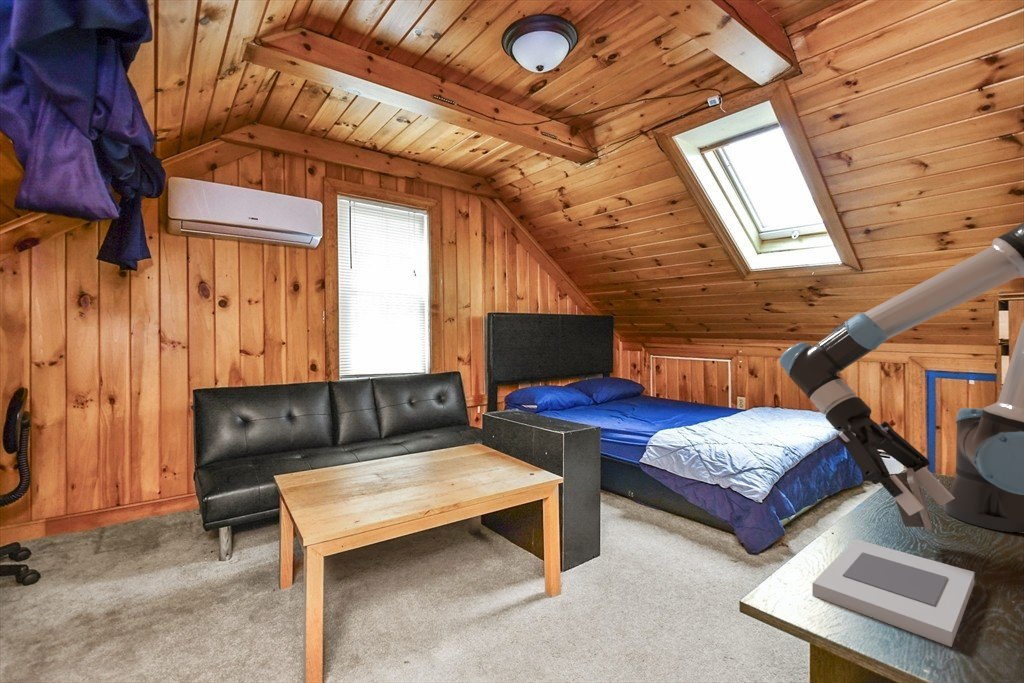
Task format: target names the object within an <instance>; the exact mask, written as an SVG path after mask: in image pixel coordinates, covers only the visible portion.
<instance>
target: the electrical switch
mask: <svg viewBox="0 0 1024 683" xmlns="http://www.w3.org/2000/svg"><path fill="white" fill-rule="evenodd" d="M892 475H895V476H896V477H897V478H898V479H899V480H900V481H901V482H902V483H903V485H904V486H905V487H906V488H907V489H908V490H909V491H910V492H911V493H912V495H913V496H914V497H915V498H916V499H917V500H918V501H919V502H920V503H921V505H922V506H923V507H924V509H922V510H920V511H918V512H916V513H915V514H913V515H910V516H909V515H908V514H907V512H906V511H905V510H904V509H903V508H902V507H901V506H900V504H899V503H898V502H897V501H896V500H895V502H896V505H897V508H898V511H899V513H900V516H901V519H902V522H903V525H904V527H905V528H909V527H911V528H913V527H914V528H920V527H921V528H924V529H925V531H926V532H933V525H932V518H931V513H930V510H929V507H928V506H929V505H928V504H927V500H926V495H925V489H924V488H923V487H922V486H921V485H920V484H919V482H918V479H917V477H916V474H915V472H914V470H913V468H907V467H906V472H898V473H890V476H892ZM890 476H889V477H890Z"/></svg>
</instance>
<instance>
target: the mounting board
mask: <svg viewBox="0 0 1024 683" xmlns="http://www.w3.org/2000/svg"><path fill="white" fill-rule="evenodd" d="M974 586H975V571H972V570H969V569H965V568H961V567H957V566H953V565H951V564H946V563H942V562H939V561H937V560H933V559H928V558H924V557H921V556H918V555H914V554H910V553H907V552H904V551H900V550H896V549H893V548H890V547H885V546H882V545H879V544H876V543H875V544H874V543H871V542H868V541H864V540H860V539H857V538H854V539H853V540H852V541H851V542H850V543H849V544H848V545H847V547H845V548H844V549H843V550H842V551H841V552H840V553H839V555H837V557H836V558H834V559H833V561H832V562H831V563H830V564H829V565H828V566H827V567H826V568H825V569H824V570H823V571H822V572H821V573H820V574H819V575H818V577H816V579H815V580H814V581H812V588H811V590H812V593H811V594H812V596H813V595H814V596H813V597H815V596H816V598H818V597H819V598H818V599H820V600H823V601H826V602H829V603H832V604H835V605H837V606H840V607H843V608H845V609H848V610H850V611H854V612H856V613H859V614H861V615H864V616H867V617H870V618H872V617H873V618H872V619H875V620H877V621H881V622H883V623H884V624H885V623H886V624H889V625H891V626H894V627H896V628H899V629H902V630H904V631H907V632H910V633H913V634H915V635H917V636H921V637H924V638H925V639H929V640H930V641H933V642H937V643H939V644H942V645H944V646H947V647H949V648H952V646H953V645H954V644H953V643H954V641H955V638H956V636H957V633H958V630H959V627H960V624H961V622H962V619H963V617H964V613H965V611H966V608H967V605H968V603H969V600H970V597H971V594H972V592H973V589H974Z"/></svg>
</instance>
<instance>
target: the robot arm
mask: <svg viewBox="0 0 1024 683" xmlns="http://www.w3.org/2000/svg"><path fill="white" fill-rule="evenodd" d="M1016 278H1024V221H1023V222H1021V223H1020V224H1018V225H1017V226H1015V227H1014V228H1012V229H1010V230H1009V231H1007V232H1006V233H1004V234H1002V235H999V236H998V237H996V238H994V239H993V240H992V244H991V245H990V247H988V248H985V249H984V250H981V251H980V252H978V253H976V254H974V255H972V256H971V257H969V258H967V259H964V260H963V261H960V262H959V263H957V264H955V265H953V266H951V267H950V268H947V269H945V270H944V271H941V272H940V273H938V274H936V275H934V276H933V277H930V278H927V279H925V280H924V281H922V282H921V283H919V284H917V285H915V286H912V287H911V288H909V289H907V290H905V291H903V292H901V293H900V294H898V295H895V296H893V297H891V298H890V299H888V300H886V301H884V302H883V303H879V304H878V305H876V306H874V307H872V308H869V310H867V311H864V312H859V313H857V314H855V315H854V316H852V317H851V318H848V319H847V320H846V321H844V322H842V323H840V324H839V325H836V326H835V327H834V328H833V329H832V331H831V332H830V333H828V334H827V335H826V336H825V337H823V338H821V340H820V341H818V342H817V343H815V344H813V345H811V344H809V343H808V342H799V343H795V344H794V345H793V346H790V347H788V348H787V349H786V350H785V351H784V352H783V353H782V354H781V355H780V357H779V364H780V367H782V368H783V370H784V371H785V373H786V374H787V376H788V378H789V379H791V380H792V381H793V383H794V384H795V385H796V386H797V387H798V388H799V389H800V391H802V393H804V394H805V396H806V397H807V399H809V400H810V401H811V403H812V404H813V405H814V406H815V408H816V409H817V410H818V411H819V412H820V413H821V414H822V415H823V416H824V415H825V419H826V421H828V423H830V425H831V426H832V427H833V429H834V430H835V431H838V432H839V433H838V434H837V435H836V439H837V440H838V441H839V442H840V443H841V444H842V445H843V446H844V448H845V449H846V450H847V452H848V453H849V455H850V457H851V458H852V460H853V461H854V463H855V464H856V465H857V467H858V469H859V470H860V472H861V473H862V474H863V476H864V478H865V479H866V480H867V481H869V482H870V483H872V484H873V485H877V484H881V485H882V486H883V488H884V489H885V490H886V491H887V492H888V494H889V495H890V496H891V497H892V498H893V499H894V500H895V502H896V501H897V502H898V503H899V504H900V506H901V507H902V508H903V509H904V510H905V511H906V512H907V514H908V515H909V516H910V515H913V514H915V513H916V512H918V511H920V510H922V509H924V507H923V506H922V505H921V503H920V502H919V501H918V500H917V499H916V498H915V497H914V496H913V495H912V493H911V492H910V491H909V490H908V489H907V488H906V487H905V486H904V485H903V483H902V482H901V481H900V480H899V479H898V478H897V477H896V476H895V475H892V476H890V474H891V473H890V471H889V470H888V468H887V465H886V463H885V461H884V460H883V458H882V455H881V454H880V451H881V450H882V451H883V452H884V453H886V454H887V455H889V456H890V457H891V458H893V459H894V460H896V461H897V462H898V463H900V464H901V465H902V466H904V467H905V468H906V469H907V468H913V470H914V472H915V474H916V477H917V479H918V482H919V484H920V487H921V488H923V489H924V491H926V493H928V494H929V495H930V497H931V498H932V499H933V500H934V501H935V502H936V503H937V504H938V506H941V507H942V506H943V510H944V512H945V513H946V514H948V515H949V516H951V517H952V518H954V519H956V520H960V521H962V522H963V523H966V524H967V523H968V524H970V525H975V526H977V527H981V528H986V529H990V530H995V531H1000V532H1005V531H1006V532H1007V533H1013V532H1024V318H1022V319H1023V320H1022V322H1021V326H1020V329H1019V332H1018V335H1017V338H1016V342H1015V345H1014V348H1013V352H1012V355H1011V358H1010V361H1009V364H1008V368H1007V371H1006V374H1005V378H1004V380H1003V384H1002V386H1001V389H1000V394H999V397H998V400H997V401H996V402H995V403H992V404H990V405H988V406H985V407H983V408H975V407H974V408H973V407H972V408H971V407H963V408H960V409H959V410H958V411H957V416H956V420H955V424H956V449H955V475H954V476H955V477H954V478H953V481H952V483H951V486H950V488H949V490H948V489H947V488H946V486H944V485H943V484H942V483H941V482H940V481H939V479H938V478H936V476H934V474H932V472H931V471H930V470H929V469H928V468H927V466H929V465H930V461H929V459H928V458H927V457H926V456H925V455H924V454H922V453H921V452H920V451H918V450H917V448H915V447H914V446H913V445H912V444H911V443H910V442H908V441H907V440H906V439H905V438H903V437H902V436H901V434H899V433H898V432H897V431H895V429H894V428H893V427H892V426H891V425H890V423H889V422H887V421H883V422H882V423H880V424H878V423H877V422H875V421H874V420H873V419H872V418H871V416H870V415H871V414H872V408H871V407H869V406H868V404H867V403H866V402H865V401H864V400H863V399H862V398H861V397H860V396H857V393H856V391H854V390H853V388H852V387H850V386H849V385H848V384H847V382H845V381H844V380H843V379H842V377H841V376H840V375H839V373H841V372H842V371H844V370H845V369H846V368H848V367H849V366H851V365H852V364H854V363H855V362H857V361H859V360H860V359H862V358H863V357H865V356H866V355H868V354H869V353H871V352H872V351H874V350H877V348H878V347H879V346H881V345H883V343H884V342H886V341H887V340H889V339H891V338H893V337H895V336H898V335H899V334H902V333H904V332H906V331H908V330H910V329H913V328H914V327H917V326H918V325H921V324H923V323H925V322H927V321H929V320H931V319H933V318H935V317H937V316H939V315H942V314H943V313H945V312H948V311H950V310H952V309H955V308H957V307H958V306H960V305H963V304H965V303H967V302H969V301H970V300H973V299H975V298H977V297H979V296H981V295H983V294H985V293H987V292H990V291H991V290H994V289H996V288H998V287H1000V286H1002V285H1004V284H1006V283H1008V282H1010V281H1013V280H1014V279H1016Z"/></svg>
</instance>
